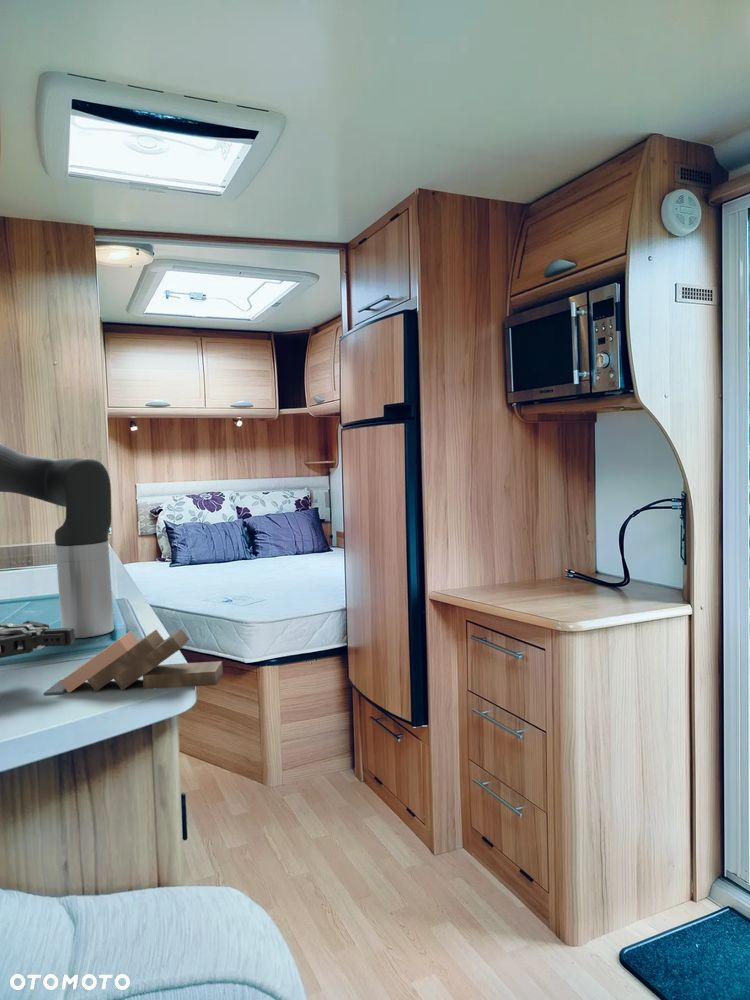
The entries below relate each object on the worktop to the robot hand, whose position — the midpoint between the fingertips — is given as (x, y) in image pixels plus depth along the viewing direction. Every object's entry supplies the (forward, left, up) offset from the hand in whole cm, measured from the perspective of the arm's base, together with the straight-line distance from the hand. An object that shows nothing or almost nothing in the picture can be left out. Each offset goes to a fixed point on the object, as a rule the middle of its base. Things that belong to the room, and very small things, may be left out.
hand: (72, 636), depth 97 cm
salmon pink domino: (0, -1, -7) cm, 7 cm away
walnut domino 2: (+2, +6, -7) cm, 9 cm away
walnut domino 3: (+4, +10, -6) cm, 12 cm away
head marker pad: (-1, -2, -7) cm, 8 cm away
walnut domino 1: (+1, +3, -7) cm, 7 cm away
